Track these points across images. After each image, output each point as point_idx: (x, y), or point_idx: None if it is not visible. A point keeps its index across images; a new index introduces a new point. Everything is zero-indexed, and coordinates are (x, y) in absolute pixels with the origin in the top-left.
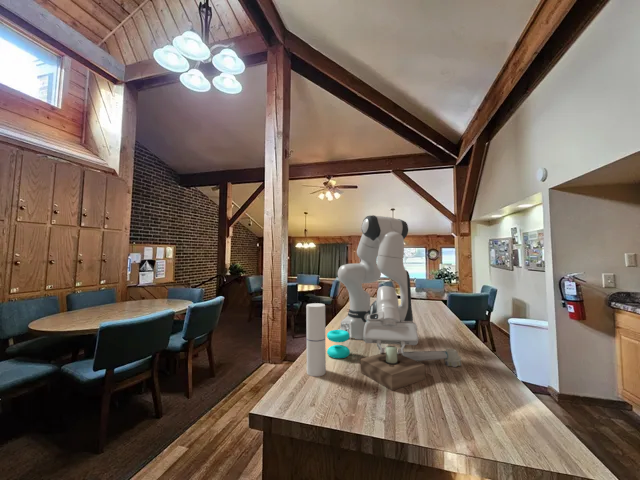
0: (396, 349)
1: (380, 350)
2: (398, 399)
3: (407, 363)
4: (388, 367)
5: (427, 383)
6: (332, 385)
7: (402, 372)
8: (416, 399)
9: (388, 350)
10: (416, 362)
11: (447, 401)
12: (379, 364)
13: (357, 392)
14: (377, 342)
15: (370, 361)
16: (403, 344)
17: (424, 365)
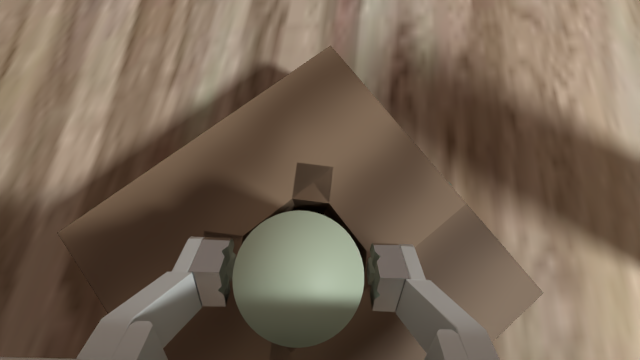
0: (247, 238)
1: (416, 253)
2: (308, 24)
3: (186, 239)
4: (338, 151)
5: (128, 182)
6: (600, 113)
7: (256, 99)
8: (232, 30)
9: (337, 224)
10: (107, 267)
11: (104, 26)
12: (398, 197)
13: (479, 63)
14: (484, 340)
15: (463, 246)
16: (125, 317)
17: (64, 231)
